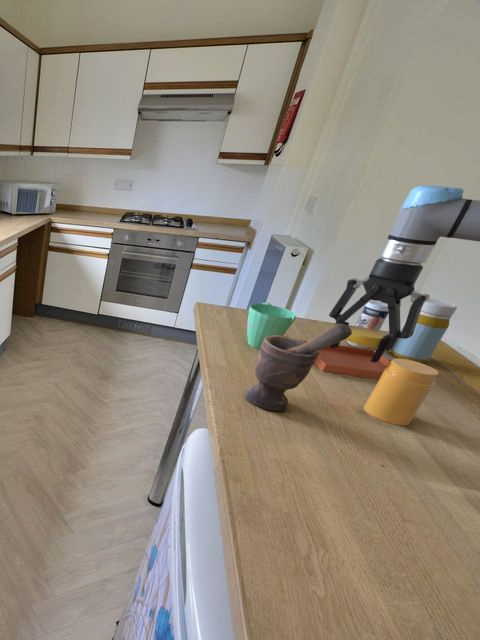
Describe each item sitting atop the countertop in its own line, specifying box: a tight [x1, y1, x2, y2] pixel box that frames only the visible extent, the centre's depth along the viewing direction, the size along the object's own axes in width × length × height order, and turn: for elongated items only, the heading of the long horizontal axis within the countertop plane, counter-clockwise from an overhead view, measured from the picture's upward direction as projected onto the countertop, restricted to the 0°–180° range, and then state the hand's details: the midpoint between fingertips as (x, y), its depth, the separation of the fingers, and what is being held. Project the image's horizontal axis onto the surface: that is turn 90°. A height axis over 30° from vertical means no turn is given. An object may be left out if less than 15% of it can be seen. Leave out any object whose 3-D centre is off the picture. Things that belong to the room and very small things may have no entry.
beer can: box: [346, 301, 389, 349], centre depth 108 cm, size 5×5×12 cm
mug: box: [246, 302, 297, 350], centre depth 108 cm, size 15×10×10 cm
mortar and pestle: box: [244, 323, 352, 413], centre depth 77 cm, size 12×9×20 cm
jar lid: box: [343, 325, 386, 348], centre depth 97 cm, size 8×8×2 cm
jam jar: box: [363, 358, 439, 426], centre depth 78 cm, size 7×7×11 cm
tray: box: [299, 339, 391, 381], centre depth 100 cm, size 17×14×2 cm
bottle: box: [390, 298, 458, 364], centre depth 102 cm, size 7×7×15 cm
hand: (353, 353), depth 99 cm, fingers closed on jar lid, 7 cm apart
